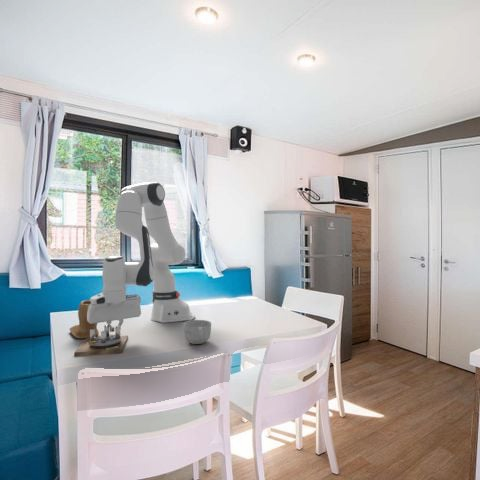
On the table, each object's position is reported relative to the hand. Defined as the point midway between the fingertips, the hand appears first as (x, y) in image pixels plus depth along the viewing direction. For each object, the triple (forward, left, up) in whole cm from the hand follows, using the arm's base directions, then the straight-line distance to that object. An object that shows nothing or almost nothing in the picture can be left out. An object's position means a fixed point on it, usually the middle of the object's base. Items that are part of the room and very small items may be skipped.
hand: (115, 330), depth 132 cm
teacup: (-32, +8, -5) cm, 34 cm away
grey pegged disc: (+3, +6, -3) cm, 7 cm away
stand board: (+4, +5, -5) cm, 8 cm away
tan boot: (+14, -13, -5) cm, 20 cm away
